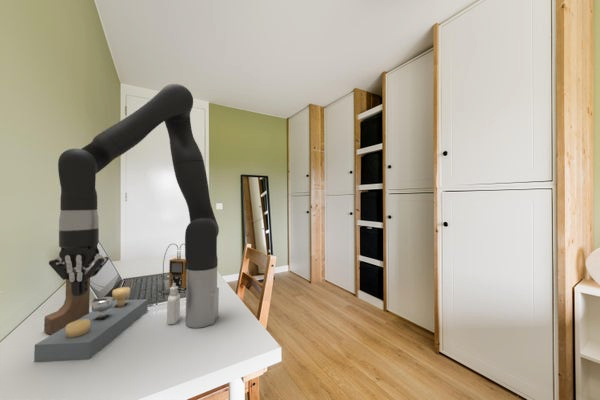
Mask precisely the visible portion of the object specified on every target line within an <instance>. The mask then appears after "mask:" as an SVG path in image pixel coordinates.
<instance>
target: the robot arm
mask: <svg viewBox="0 0 600 400" xmlns="http://www.w3.org/2000/svg"><path fill="white" fill-rule="evenodd" d="M193 106H194V96H193V94H192V92H191V91H190V90H189V88H187V87H185V86H184V85H182V84H178V83H170V84H167V85H166V86H165V87H163V88H162V89H161V90H160V91H158V92H157V93H156V94H155V96H153V97H152V98H151V99H150V100H148V101H147V102H146V103H145V104H144V105H142V106H141V107H139V108H138V109H137V110H135V111H134V112H132V113H131V114H129V115H128V116H126V117H125V118H123V119H122V120H120V121H118V122H117V123H115V124H113V125H111V126H110V127H107V128H106V129H105V130H103V131H101V132H100V133H98V134H97V135H95V136H94V137H93V139H92V141H91V142H90V143H88V144H87V145H85V146H83V147H82V148H69V149H66V150H64V151H63V152H62V153H61V154H60V156H59V157H58V160H57V161H58V163H57V172H58V179H59V185H60V199H59V200H60V206H59V207H60V209H59V210H60V211H59V219H58V247H59V248H60V251H59V254H58V257H56V258H54V259H52V260H49V261H48V265H49V266H50V267H51V268H52V269H53V270H54V272H55V273H56V274H57V275H58V276H59V278H61V279H62V280H63V281H64V280H65V281H66V279H67V280H70V282H71V292H72V294H73V296H81V295H84V294H85V293H86V292H87V290H88V279H89V278H90V279H91V278H93V277H96V276H97V275H98V273H99V272H100V271H101V270H102V268H103V267H105V265H106V263H107V262H108V261H109V257H108V256H103V255H101V254H100V250H99V248H98V244H99V241H100V239H99V236H100V234H99V233H100V232H99V231H100V230H99V229H100V228H99V225H100V223H99V221H100V220H99V218H100V217H99V212H98V193H97V189H96V182H97V181H96V177H97V174H98V173H100V171H102V170H104V168H106V167H107V166H108V165H110V163H112V162H113V161H114V160H115V159H117V158H119V157H120V156H122V155H123V154H125V153H127V152H128V151H129V150H131V149H133V148H134V147H135V146H137V145H138V144H139V143H141V142H142V141H143V140H144V139H145V138H146V137H147V136H148V135H150V133H151V132H153V130H155V129H156V128H157V127H159V126H160V125H161V124H162V123H164V124H165V127H166V131H167V133H168V138H169V145H170V155H171V161H172V167H173V171H174V175H175V178H176V182H177V184H178V187H179V189H180V192H181V195H182V196H183V198H184V200H185V202H186V206H187V209H188V216H189V223H188V225H187V226H186V229H185V233H184V235H185V236H184V244H185V245H184V255H185V256H184V259H186V263H187V274H186V289H185V325H186V326H187V327H189V328H191V329H192V328H193V329H194V328H195V329H200V328H203V327H204V328H205V327H207V326H212V325H214V326H215V323H216V321H217V319H218V317H219V306H220V305H219V299H220V297H219V295H220V288H219V287H218V261H219V260H218V259H219V258H218V254H217V253H218V252H217V251H218V246H217V245H218V242H217V241H218V236H219V231H220V227H219V224H218V222H217V221H218V220H217V219H216V216H215V213H214V209H213V207H212V203H211V199H210V198H211V197H210V188H209V182H208V181H209V180H208V177H207V171H206V165H205V162H204V156H203V155H202V152H201V150H200V148H199V145H198V144H197V142H196V140H195V139H196V138H195V137H194V135H193V130H192V124H191V111H192V110H193ZM92 264H93V265H92ZM75 267H76V268H75Z"/></svg>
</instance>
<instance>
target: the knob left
mask: <svg viewBox="0 0 600 400" xmlns="http://www.w3.org/2000/svg"><path fill="white" fill-rule="evenodd" d="M89 331H90V320H89V319H81V320H77V321H74V322H71V323H69V324H67V325H66V337H67V338H73V337H78V336H81V335H84V334H86V333H87V332H89Z"/></svg>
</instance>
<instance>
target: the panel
mask: <svg viewBox="0 0 600 400" xmlns="http://www.w3.org/2000/svg"><path fill="white" fill-rule="evenodd" d="M148 304H149V303H148V299H147V298H146V299H125V306H124V307H117V300H114V299H113V302H112V307H111V308H109V309H107V318H106V319H105V320H98V312H94V311H92V310H91V311H89V314H87V315H85V316H83V317H82V318H80V319H78V320H81V319H89V320H90V331H89V332H87V333H86V334H84V335H81V336H78V337H73V338H67V337H66V327H64V328H63V329H61V330H59V331H58V332H56V333H54V334H52V335H49V336H48V337H46V338H44V339H42V340H40V341H38V342H37V343H36V344H34V353H33V354H34V355H33V356H34V358H33V362H34V363H39V362H41V363H42V362H58V361H59V362H60V361H61V362H62V361H80V360H90V359H91V358H92V357H94V356H95V355H96V354H97V353H99V352H100V351H101V350H102V349H104V348H105V346H107V345H108V344H109V343H110V342H112V341H114V339H116V338H117V337H118V336H119V335H120V334H121V333H123V332H124V331H125V330H126V329H128V328H129V327H130V326H131V325H133V324H134V322H136V321H137V320H138V319H139V318H141V317H142V316H144V315H145V314H146V313H147V312H148ZM76 321H77V320H76Z"/></svg>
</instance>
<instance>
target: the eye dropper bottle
mask: <svg viewBox="0 0 600 400" xmlns="http://www.w3.org/2000/svg"><path fill="white" fill-rule="evenodd" d="M178 291H179V290H178V286H176V283H173V286H172V287H171V288H170V289H169V292H170V293H169V294H168V297H167V304H166V309H167V310H166V324H167V325H175V324H177V323H178V322H179V321H180V318H181V317H180V316H181V295H180V293H179V292H178Z"/></svg>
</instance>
